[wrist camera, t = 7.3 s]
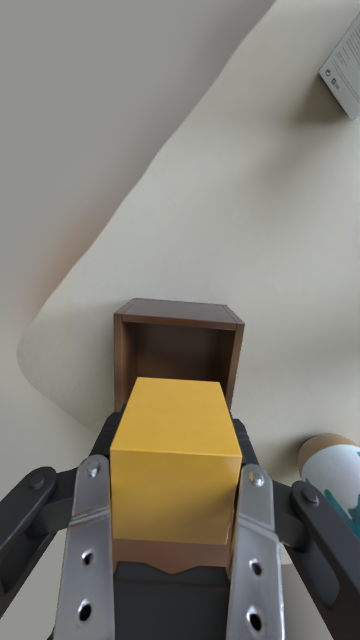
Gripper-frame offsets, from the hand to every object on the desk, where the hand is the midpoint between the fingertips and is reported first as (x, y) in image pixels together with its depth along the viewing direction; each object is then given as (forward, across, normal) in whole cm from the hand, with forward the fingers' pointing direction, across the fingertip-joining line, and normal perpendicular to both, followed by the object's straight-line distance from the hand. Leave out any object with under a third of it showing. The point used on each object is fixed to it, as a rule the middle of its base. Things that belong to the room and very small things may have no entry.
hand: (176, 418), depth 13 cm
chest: (+17, 0, -4) cm, 17 cm away
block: (0, 0, 0) cm, 0 cm away
